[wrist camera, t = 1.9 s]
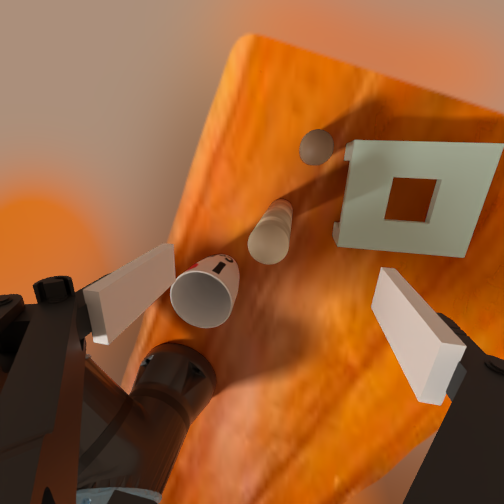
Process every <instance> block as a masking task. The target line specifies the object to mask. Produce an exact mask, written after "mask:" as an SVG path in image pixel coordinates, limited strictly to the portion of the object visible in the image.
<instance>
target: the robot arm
mask: <svg viewBox="0 0 504 504" xmlns="http://www.w3.org/2000/svg"><path fill="white" fill-rule="evenodd" d="M175 281H176V276H175V261H174V245H173V244H166V243H162V244H161V245H159V246H157V247H155V248H154V249H152V250H150V251H149V252H147V253H145V254H143V255H142V256H140V257H138V258H136V259H135V260H133V261H131V262H130V263H128V264H126V265H124V266H123V267H121V268H120V269H118V270H116V271H114V272H112V273H110V274H107V275H105V276H103V277H101V278H99V280H96V281H94V282H93V283H92V284H89V285H87V286H86V287H84V288H82V289H80V290H79V291H77V292H74V287H73V282H72V279H71V277H69V276H54V277H49V278H46V279H42V280H40V281H38V282H36V283H35V284H34V285H33V288H34V292H35V295H36V299H37V302H38V303H37V304H24V301H23V298H22V296H21V295H18V294H9V295H0V504H158V503H159V502H160V501H161V499H162V493H163V491H164V488H165V486H166V483H167V481H168V478H169V476H170V474H171V471H172V469H173V466H174V464H175V461H176V459H177V456H178V454H179V451H180V449H181V446H182V444H183V442H184V439H185V437H186V434H187V432H188V429H189V427H190V425H191V424H192V422H193V421H194V420H195V419H196V418H197V416H198V415H199V414H200V413H201V412H202V410H203V409H204V408H205V407H206V406H207V404H208V403H209V402H210V400H211V398H212V395H213V393H214V390H215V387H216V376H215V373H214V370H213V368H212V366H211V365H210V363H209V362H208V361H207V360H206V359H205V358H204V357H203V356H202V355H201V354H199V353H198V352H197V351H195V350H193V349H191V348H189V347H187V346H184V345H180V344H172V343H169V344H162V345H159V346H157V347H155V348H153V349H152V350H151V351H150V352H149V353H148V354H147V356H146V357H145V358H144V359H143V361H142V363H141V365H140V367H139V370H138V373H137V376H136V379H135V381H134V384H133V387H132V390H131V393H130V394H129V395H128V394H127V393H126V392H125V391H124V390H123V389H122V388H121V387H120V386H119V385H117V384H116V383H115V382H114V381H113V380H112V379H111V378H110V377H109V376H108V375H107V374H106V373H105V372H104V371H103V370H102V369H101V368H100V367H99V366H98V365H97V364H96V363H95V362H94V361H93V360H92V359H91V356H90V355H87V354H86V340H85V336H87V335H88V334H89V333H90V332H92V336H93V340H94V342H95V343H101V344H106V345H109V344H110V343H111V342H112V341H113V340H114V339H115V338H117V337H118V336H119V335H120V334H121V333H122V332H123V331H124V330H125V329H126V328H127V327H128V326H129V325H130V324H131V323H132V322H133V321H134V320H136V318H138V317H139V316H140V315H141V314H142V313H143V312H144V311H145V310H146V309H147V308H148V307H149V306H150V305H151V304H152V303H153V302H154V301H155V300H157V299H158V298H159V297H160V296H161V295H162V294H163V293H164V292H165V291H166V290H167V289H168V288H169V287H170V286H171V285H172V284H173V283H174V282H175ZM371 308H372V310H373V312H374V314H375V316H376V318H377V320H378V322H379V324H380V326H381V328H382V330H383V332H384V334H385V336H386V338H387V340H388V342H389V344H390V346H391V348H392V350H393V352H394V354H395V356H396V358H397V359H398V361H399V363H400V365H401V367H402V369H403V371H404V373H405V375H406V377H407V379H408V381H409V383H410V385H411V387H412V389H413V391H414V393H415V395H416V397H417V399H418V401H419V402H424V403H430V404H435V405H441V404H442V402H443V400H444V397H445V395H446V393H447V395H448V396H449V398H450V400H451V401H452V403H451V405H450V407H449V409H448V411H447V414H446V416H445V418H444V420H443V422H442V424H441V426H440V428H439V430H438V432H437V434H436V436H435V438H434V440H433V442H432V444H431V446H430V449H429V451H428V453H427V455H426V457H425V459H424V461H423V463H422V465H421V467H420V469H419V471H418V473H417V475H416V477H415V479H414V481H413V483H412V485H411V487H410V489H409V492H408V493H407V496H406V498H405V500H404V502H403V504H504V360H503V359H500V358H497V357H494V356H491V355H486V354H485V353H484V352H483V351H482V350H481V349H480V348H479V347H478V346H477V345H476V344H475V343H474V342H473V341H472V339H471V338H470V337H469V336H467V334H466V333H465V332H464V331H463V330H460V327H459V326H458V325H457V324H456V323H455V322H454V321H453V320H451V319H450V318H448V317H446V316H445V315H443V314H442V313H436V312H435V311H434V310H433V309H432V308H431V307H430V306H429V305H428V304H427V303H426V302H425V301H424V299H423V298H422V297H421V296H420V295H419V294H418V293H417V292H416V291H415V290H414V289H413V288H412V286H411V285H410V284H409V283H408V282H407V281H406V280H405V279H404V278H403V277H402V276H401V275H400V273H399V272H398V271H397V270H396V269H395V268H386V267H381V269H380V273H379V277H378V281H377V285H376V289H375V293H374V297H373V301H372V305H371Z"/></svg>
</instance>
